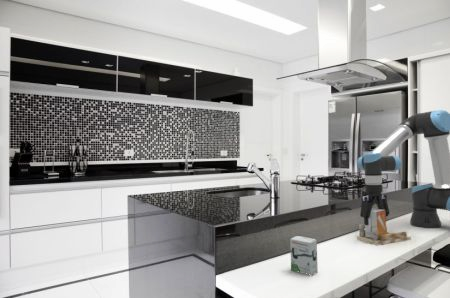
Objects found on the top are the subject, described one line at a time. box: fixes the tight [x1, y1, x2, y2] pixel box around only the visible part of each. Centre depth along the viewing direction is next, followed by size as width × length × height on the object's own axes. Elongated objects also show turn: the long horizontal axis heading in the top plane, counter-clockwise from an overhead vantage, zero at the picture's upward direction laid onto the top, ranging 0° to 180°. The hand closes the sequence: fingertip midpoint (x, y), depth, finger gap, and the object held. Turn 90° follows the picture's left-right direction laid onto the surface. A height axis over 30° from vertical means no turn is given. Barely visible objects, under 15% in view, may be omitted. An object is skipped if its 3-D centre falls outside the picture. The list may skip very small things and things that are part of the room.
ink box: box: [289, 235, 319, 276], centre depth 113 cm, size 9×5×12 cm, turn 45°
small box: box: [365, 207, 387, 239], centre depth 150 cm, size 8×6×13 cm
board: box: [356, 223, 412, 246], centre depth 152 cm, size 22×12×8 cm, turn 111°
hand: (375, 230), depth 150 cm, fingers closed on small box, 9 cm apart
